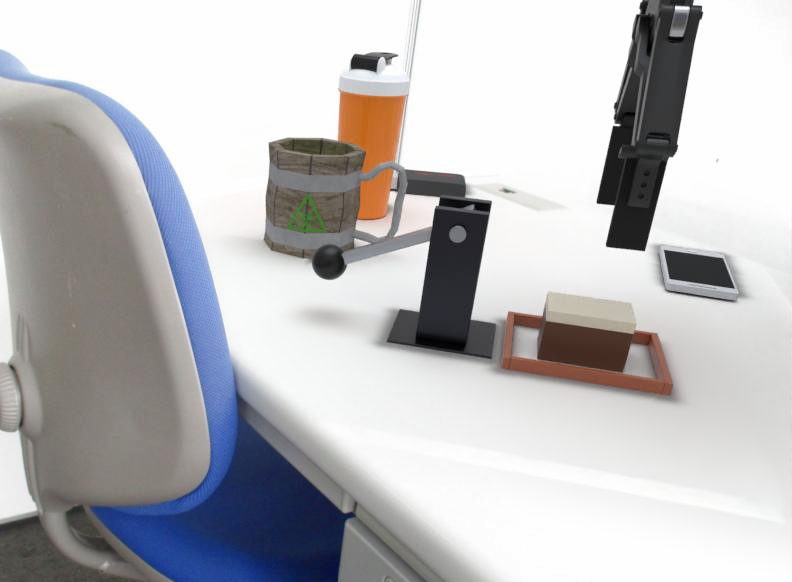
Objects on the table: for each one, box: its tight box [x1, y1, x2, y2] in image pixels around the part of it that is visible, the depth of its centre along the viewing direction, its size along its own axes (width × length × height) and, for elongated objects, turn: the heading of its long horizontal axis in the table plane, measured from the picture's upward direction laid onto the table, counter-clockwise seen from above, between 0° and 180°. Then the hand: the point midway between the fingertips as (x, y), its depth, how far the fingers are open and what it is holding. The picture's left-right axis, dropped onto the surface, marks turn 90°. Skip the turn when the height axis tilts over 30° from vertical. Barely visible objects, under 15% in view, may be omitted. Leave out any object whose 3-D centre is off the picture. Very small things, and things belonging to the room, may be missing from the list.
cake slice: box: [536, 291, 637, 374], centre depth 75 cm, size 7×5×5 cm
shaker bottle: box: [337, 51, 411, 220], centre depth 113 cm, size 9×9×20 cm
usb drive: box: [391, 168, 467, 198], centre depth 130 cm, size 5×12×3 cm, turn 80°
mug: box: [263, 137, 408, 259], centre depth 98 cm, size 16×11×12 cm
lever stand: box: [386, 195, 497, 360], centre depth 76 cm, size 9×8×13 cm
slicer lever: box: [311, 204, 476, 281], centre depth 76 cm, size 15×3×3 cm, turn 72°
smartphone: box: [658, 245, 739, 301], centre depth 100 cm, size 7×15×1 cm, turn 160°
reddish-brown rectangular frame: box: [500, 311, 674, 396], centre depth 76 cm, size 13×11×2 cm
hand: (618, 224), depth 70 cm, fingers open, 13 cm apart
